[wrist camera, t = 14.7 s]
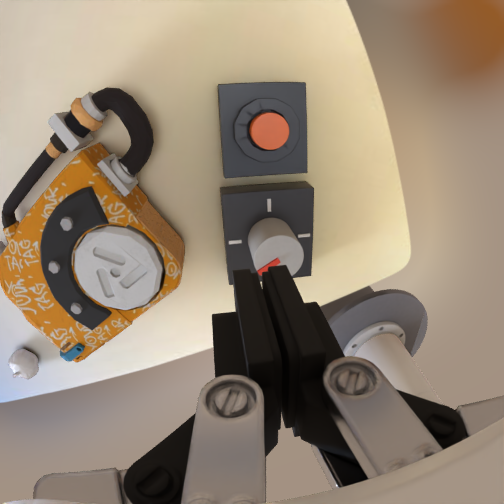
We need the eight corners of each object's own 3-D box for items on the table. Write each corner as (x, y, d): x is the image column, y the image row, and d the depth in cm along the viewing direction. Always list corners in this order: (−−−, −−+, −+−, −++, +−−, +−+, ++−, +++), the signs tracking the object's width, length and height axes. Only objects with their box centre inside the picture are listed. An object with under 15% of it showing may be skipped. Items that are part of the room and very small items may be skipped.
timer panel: (304, 264, 41) (311, 276, 39) (227, 272, 40) (229, 285, 38) (306, 181, 37) (314, 188, 34) (220, 187, 36) (221, 194, 33)
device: (-49, 262, 26) (93, 63, 21) (-17, 236, 33) (119, 72, 28) (71, 379, 35) (250, 252, 30) (85, 340, 43) (242, 221, 38)
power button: (285, 146, 31) (289, 148, 29) (250, 148, 31) (252, 150, 29) (284, 111, 29) (288, 112, 28) (248, 113, 29) (250, 113, 27)
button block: (302, 169, 36) (312, 176, 32) (223, 174, 35) (225, 182, 31) (300, 83, 31) (310, 81, 28) (217, 85, 31) (218, 83, 27)
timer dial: (277, 208, 34) (288, 226, 30) (299, 242, 37) (313, 264, 32) (238, 234, 35) (244, 256, 30) (263, 266, 37) (271, 291, 33)
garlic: (21, 364, 44) (11, 384, 39) (10, 342, 41) (-1, 361, 37) (46, 368, 44) (37, 389, 40) (36, 345, 42) (25, 366, 37)
